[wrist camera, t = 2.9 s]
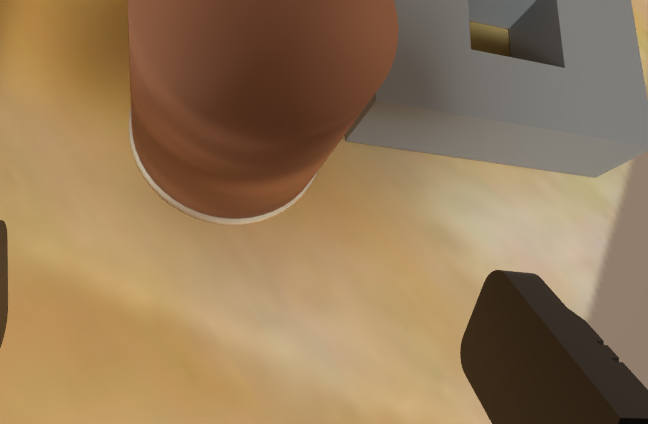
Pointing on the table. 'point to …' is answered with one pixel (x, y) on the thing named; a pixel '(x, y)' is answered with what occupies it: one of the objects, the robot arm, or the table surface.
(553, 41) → the board
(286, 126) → the peg
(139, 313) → the table surface
